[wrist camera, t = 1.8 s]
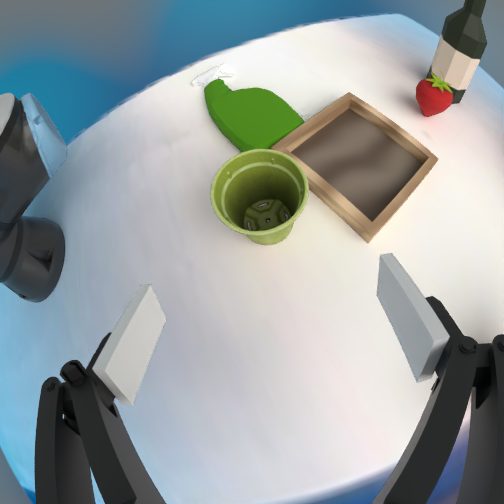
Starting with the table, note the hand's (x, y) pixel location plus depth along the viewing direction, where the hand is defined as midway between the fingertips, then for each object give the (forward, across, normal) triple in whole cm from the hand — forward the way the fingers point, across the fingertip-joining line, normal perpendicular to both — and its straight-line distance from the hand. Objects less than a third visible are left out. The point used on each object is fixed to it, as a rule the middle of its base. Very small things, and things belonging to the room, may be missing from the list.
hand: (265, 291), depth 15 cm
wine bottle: (+37, +39, +14) cm, 55 cm away
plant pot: (+19, 0, -4) cm, 20 cm away
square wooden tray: (+24, +13, +2) cm, 28 cm away
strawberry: (+31, +30, +8) cm, 44 cm away
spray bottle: (+35, -2, +12) cm, 37 cm away
